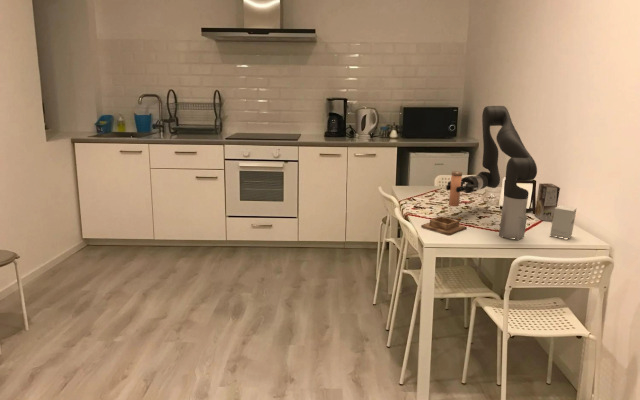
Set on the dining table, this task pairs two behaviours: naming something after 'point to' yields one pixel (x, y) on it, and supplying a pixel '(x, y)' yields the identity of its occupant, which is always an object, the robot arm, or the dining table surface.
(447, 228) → the walnut socket board
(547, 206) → the coffee box
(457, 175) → the wooden peg
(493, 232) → the dining table surface
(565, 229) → the supplement box
